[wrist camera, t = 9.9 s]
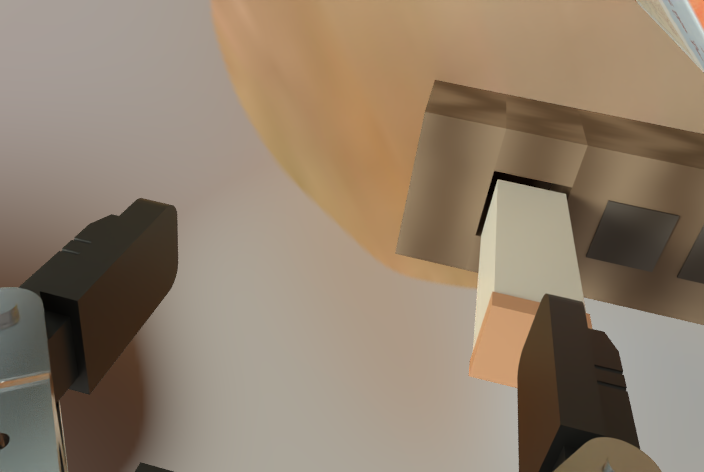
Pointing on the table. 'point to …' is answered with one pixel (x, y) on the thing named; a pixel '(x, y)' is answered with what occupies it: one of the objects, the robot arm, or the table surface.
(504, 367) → the plug
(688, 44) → the cracker box
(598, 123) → the socket block
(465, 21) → the table surface
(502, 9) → the table surface
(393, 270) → the table surface
